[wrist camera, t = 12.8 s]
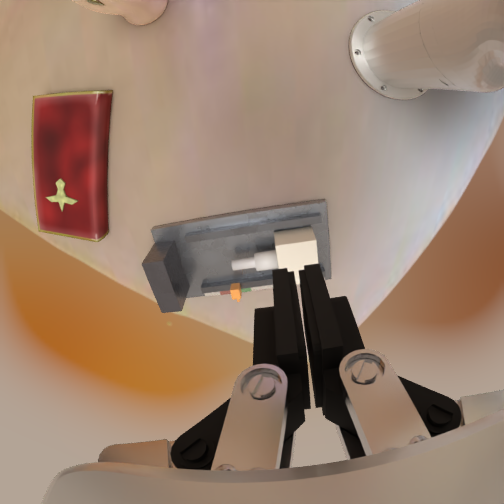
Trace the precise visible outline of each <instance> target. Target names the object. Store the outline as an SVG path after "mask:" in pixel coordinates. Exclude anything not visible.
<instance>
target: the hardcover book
mask: <svg viewBox="0 0 504 504" xmlns="http://www.w3.org/2000/svg"><path fill="white" fill-rule="evenodd" d="M112 92H113V90H106V91H82V92H67V93H56V94H46V95H38V96H33V107H32V171H33V186H34V198H35V207H36V216H37V223H38V230H39V231H40V232H45V233H50V234H56V235H61V236H66V237H72V238H77V239H83V240H88V241H94V242H99V241H101V240H102V239H103V238H104V237H105V236H106V235H107V234H108V232H109V231H108V204H107V167H108V140H109V124H110V112H111V101H112Z"/></svg>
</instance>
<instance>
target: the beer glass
mask: <svg viewBox="0 0 504 504" xmlns="http://www.w3.org/2000/svg"><path fill="white" fill-rule="evenodd" d="M71 1H73V2H75V3H77V4H79V5H81V6H83V7H85V8H87V9H89V10H92V11H96V12H99V13H105V14H113V15H122V16H123V17H124V18H125V19H126V20H127V21H128V22H129V23H131V24H134V25H146V24H149V23H151V22H153V21H155V20H156V19H158V18H159V17H160V16H161V15H162V14H163V12H164V11H165V9H166V6H167V0H71Z"/></svg>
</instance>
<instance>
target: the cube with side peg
mask: <svg viewBox="0 0 504 504" xmlns="http://www.w3.org/2000/svg"><path fill="white" fill-rule="evenodd" d="M274 238H275V248H276V250H272V251H265V252H258V253H254V257H250V258H243V259H236V260H232V269H233V271H234V270H241V269H248V268H256V270H257V271H262V270H269V269H276V268H278V267H279V269H283V268H287V270H288V272H290V271H294V275H295V281H296V284H300V279H299V270H304V265H310V264H317V263H318V254H317V242H316V238H315V235H314V232H313V229H312V227H304V228H297V229H290V230H283V231H276V232H274Z"/></svg>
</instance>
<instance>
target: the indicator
mask: <svg viewBox="0 0 504 504" xmlns="http://www.w3.org/2000/svg"><path fill="white" fill-rule="evenodd" d="M230 292H231V296H232V299H237V301H238V302H240V299H241V293H242V291H241V287H240V283H233V284H231V288H230Z"/></svg>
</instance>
